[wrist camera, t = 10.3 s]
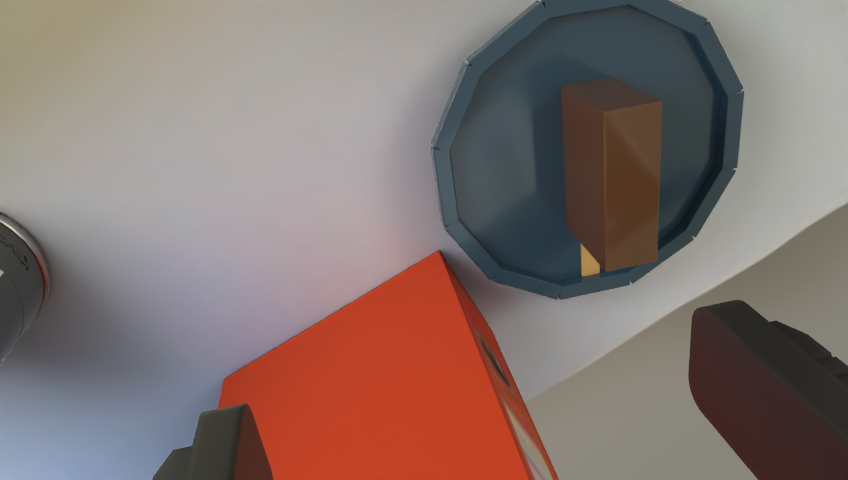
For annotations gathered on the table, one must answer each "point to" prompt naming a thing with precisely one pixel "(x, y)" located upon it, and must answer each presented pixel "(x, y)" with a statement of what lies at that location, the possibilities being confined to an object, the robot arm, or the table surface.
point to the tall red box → (393, 391)
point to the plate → (527, 134)
